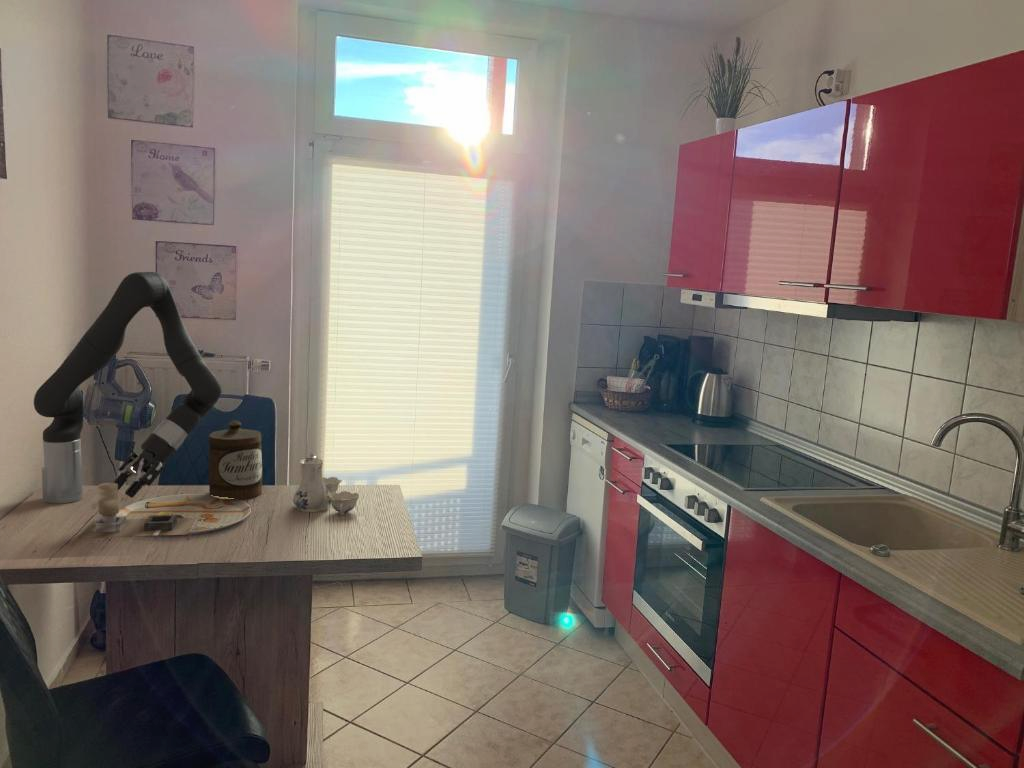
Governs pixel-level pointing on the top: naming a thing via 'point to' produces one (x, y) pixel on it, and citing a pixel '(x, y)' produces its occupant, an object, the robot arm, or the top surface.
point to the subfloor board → (140, 526)
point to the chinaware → (321, 490)
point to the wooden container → (235, 463)
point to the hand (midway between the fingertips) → (120, 492)
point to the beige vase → (108, 502)
